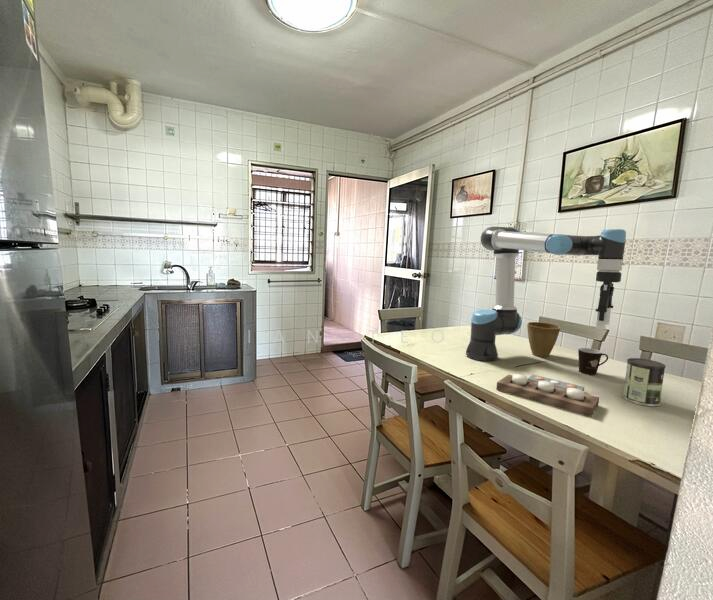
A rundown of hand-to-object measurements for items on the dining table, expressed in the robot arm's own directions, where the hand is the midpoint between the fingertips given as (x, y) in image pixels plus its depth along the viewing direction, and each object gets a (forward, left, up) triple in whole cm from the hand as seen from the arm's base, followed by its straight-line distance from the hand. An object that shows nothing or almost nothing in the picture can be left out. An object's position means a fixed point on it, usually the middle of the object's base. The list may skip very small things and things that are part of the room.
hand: (602, 326), depth 128 cm
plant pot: (-28, +31, -24) cm, 48 cm away
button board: (-11, -26, -24) cm, 37 cm away
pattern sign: (-11, -13, -24) cm, 30 cm away
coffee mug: (-4, +18, -24) cm, 30 cm away
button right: (-2, -26, -21) cm, 34 cm away
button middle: (-11, -26, -21) cm, 36 cm away
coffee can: (+14, -3, -24) cm, 28 cm away
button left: (-20, -26, -21) cm, 39 cm away
